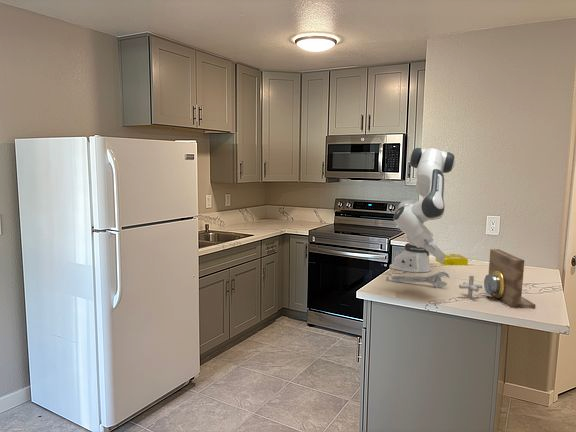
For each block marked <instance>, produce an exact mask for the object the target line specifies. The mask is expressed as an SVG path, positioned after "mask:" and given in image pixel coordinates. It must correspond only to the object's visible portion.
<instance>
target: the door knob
mask: <svg viewBox="0 0 576 432" xmlns="http://www.w3.org/2000/svg"><path fill="white" fill-rule="evenodd" d="M483 282H484V283H483V288H484V290H485V292H486V294H491V293H493V295H494V296H493V295H492V296H493V297H494V298H496V299H498V298H502V297H503V295H504V293H505V278H504V275H503V273H502V272H501V271H494V272H493V274H492V275H488V274H486V275H485V277H484V280H483Z"/></svg>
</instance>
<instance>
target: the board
mask: <svg viewBox="0 0 576 432" xmlns="http://www.w3.org/2000/svg"><path fill="white" fill-rule="evenodd" d="M524 269H525V259H523V258H519V257H518V256H516V255H513V254H510V253H508V252H505V251H504V250H502V249H499V248H498V249H496V248H495V249H491V248H490V250H489V263H488V274H487V275H492V274H493V272H494V271H501V272H502V273H503V275H504V278H505V293H504V295H503V297H502V298H497V299H498V300H499V301H501V302H502V303H504V305H506V306H508V307H510V308H512V309H514V308H517V309H536V304H535V303H533V302H532V301H530V300H528V299H526V298H525V297H523V296H522V294H523V293H522V291H523V281H524V271H525V270H524ZM490 294H491V295H492V296H493V297H494V295H493V293H490Z"/></svg>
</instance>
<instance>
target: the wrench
mask: <svg viewBox="0 0 576 432" xmlns="http://www.w3.org/2000/svg"><path fill="white" fill-rule="evenodd" d="M389 277H390V278H391V280H389ZM442 277H446V278H450V277H451V276H450V274H449V273H448V272H447V271H445V270H440V271H438V272H435V273H433V274H429V275H398V274H397V275H395V274H394V275H391V274H390V275H387V276H386V281H387V282H392V283H393V282H394V283H398V282H401V283H406V282H407V283H429V284H431V285H433V288H436V289H437V288H438V287H439V288H441V287H446V286H448V282H446V281H443V280H442Z"/></svg>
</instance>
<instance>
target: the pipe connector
mask: <svg viewBox="0 0 576 432" xmlns="http://www.w3.org/2000/svg"><path fill="white" fill-rule="evenodd" d="M468 276H469V277H468V282H467V281H463V282H462V284H459V286H458V288H459V289H463V290H464V289H465V290H466V289H467V298H468V299H472V298H473V293H474V292H476V293H478V292H479V290H480V289H482V288H483V284H482V283H480V284H479V283H474V282H475V281H474V278H475V275H473V274H469V275H468Z"/></svg>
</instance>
